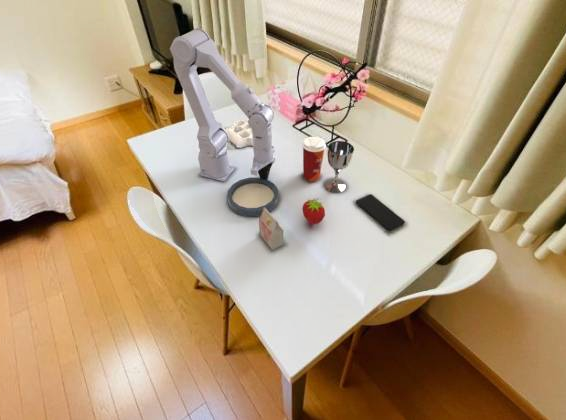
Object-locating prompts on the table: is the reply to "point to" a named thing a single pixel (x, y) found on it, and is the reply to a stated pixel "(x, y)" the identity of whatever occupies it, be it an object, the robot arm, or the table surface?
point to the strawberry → (313, 211)
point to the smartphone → (380, 212)
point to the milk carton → (270, 230)
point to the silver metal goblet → (338, 163)
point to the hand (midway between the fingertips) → (264, 180)
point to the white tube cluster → (240, 134)
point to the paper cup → (312, 157)
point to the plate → (252, 196)
